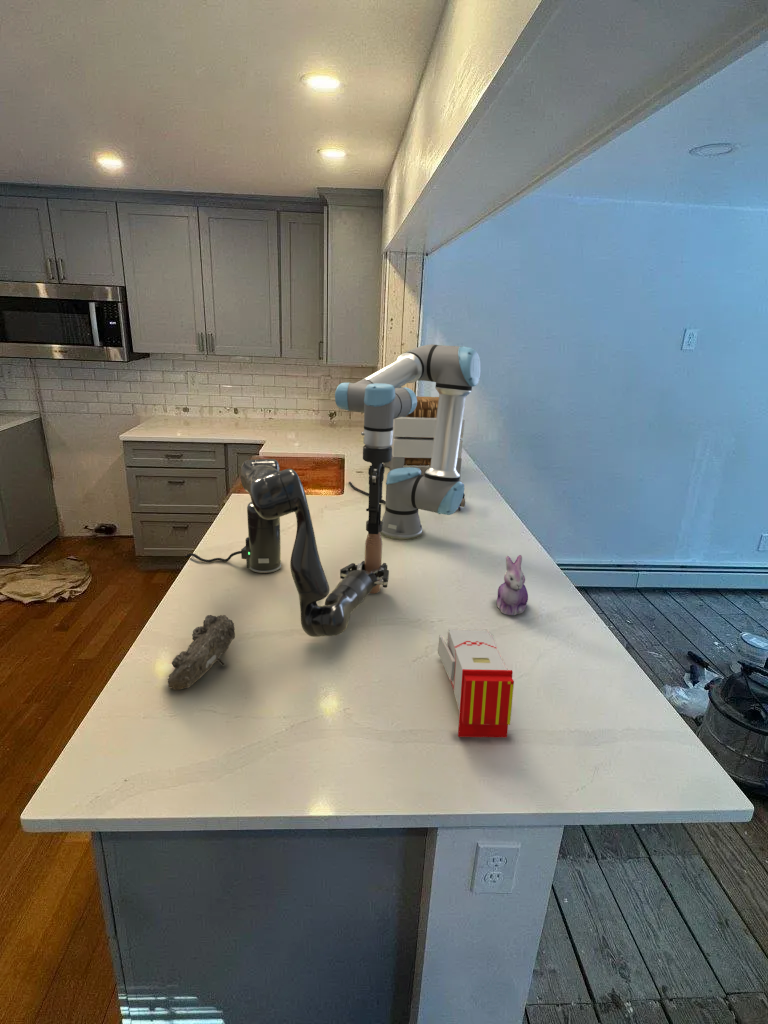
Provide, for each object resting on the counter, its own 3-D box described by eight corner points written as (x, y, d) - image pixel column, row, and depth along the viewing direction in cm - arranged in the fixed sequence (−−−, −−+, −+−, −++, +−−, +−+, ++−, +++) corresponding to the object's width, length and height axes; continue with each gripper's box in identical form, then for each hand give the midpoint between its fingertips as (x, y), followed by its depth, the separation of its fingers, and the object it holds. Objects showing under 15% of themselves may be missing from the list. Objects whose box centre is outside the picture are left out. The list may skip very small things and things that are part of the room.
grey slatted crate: (382, 463, 289) (386, 382, 275) (445, 464, 293) (451, 384, 279) (390, 482, 257) (394, 392, 243) (460, 483, 261) (468, 394, 247)
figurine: (510, 620, 147) (517, 567, 142) (486, 602, 155) (492, 552, 150) (538, 612, 151) (545, 561, 146) (513, 595, 159) (519, 546, 154)
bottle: (382, 588, 161) (385, 523, 154) (376, 595, 157) (379, 529, 150) (367, 584, 163) (370, 520, 156) (360, 591, 158) (362, 525, 152)
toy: (488, 613, 130) (523, 677, 101) (484, 667, 133) (517, 744, 104) (435, 612, 130) (455, 676, 101) (432, 666, 133) (451, 743, 103)
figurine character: (465, 515, 224) (460, 499, 237) (467, 498, 221) (462, 483, 234) (448, 515, 224) (444, 499, 237) (450, 498, 220) (445, 482, 234)
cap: (385, 531, 153) (386, 523, 152) (371, 534, 151) (372, 526, 150) (376, 525, 156) (377, 518, 156) (362, 528, 154) (363, 521, 153)
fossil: (190, 617, 133) (235, 588, 128) (218, 645, 136) (264, 617, 131) (146, 683, 113) (197, 651, 108) (180, 714, 116) (232, 684, 111)
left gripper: (379, 582, 141) (400, 556, 156) (327, 571, 146) (353, 547, 161) (378, 608, 144) (399, 581, 159) (327, 597, 148) (352, 571, 163)
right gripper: (367, 437, 154) (364, 517, 162) (358, 452, 138) (356, 541, 146) (394, 439, 154) (390, 519, 161) (389, 454, 137) (385, 543, 145)
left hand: (376, 564), depth 160 cm, fingers closed on bottle, 4 cm apart
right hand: (374, 529), depth 154 cm, fingers closed on cap, 4 cm apart
